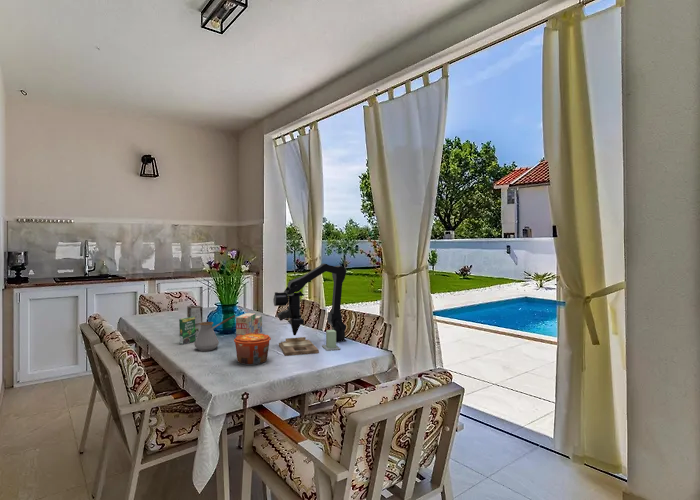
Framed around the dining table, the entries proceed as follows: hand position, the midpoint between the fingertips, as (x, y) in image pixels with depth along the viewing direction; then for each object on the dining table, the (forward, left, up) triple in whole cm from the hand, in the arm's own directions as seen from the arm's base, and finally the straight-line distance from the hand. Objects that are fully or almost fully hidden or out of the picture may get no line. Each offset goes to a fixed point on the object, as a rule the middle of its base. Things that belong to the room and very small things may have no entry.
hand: (294, 335), depth 219 cm
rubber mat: (-16, +12, -5) cm, 21 cm away
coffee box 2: (+52, -21, -5) cm, 56 cm away
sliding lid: (0, +6, -3) cm, 7 cm away
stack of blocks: (+20, -28, -5) cm, 35 cm away
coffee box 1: (+49, -38, -5) cm, 62 cm away
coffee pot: (+38, -7, -5) cm, 39 cm away
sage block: (-16, +12, -4) cm, 21 cm away
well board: (0, +10, -5) cm, 11 cm away
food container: (+23, +22, -5) cm, 33 cm away
